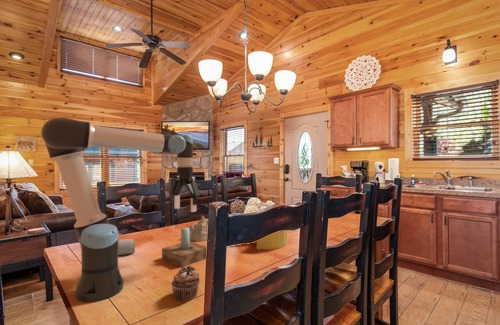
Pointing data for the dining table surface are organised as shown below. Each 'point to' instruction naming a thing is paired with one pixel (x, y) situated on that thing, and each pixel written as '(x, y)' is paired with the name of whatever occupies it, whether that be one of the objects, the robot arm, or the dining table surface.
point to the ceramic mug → (126, 246)
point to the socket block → (184, 254)
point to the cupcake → (185, 284)
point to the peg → (185, 239)
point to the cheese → (273, 241)
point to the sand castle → (199, 230)
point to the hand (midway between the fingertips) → (185, 210)
